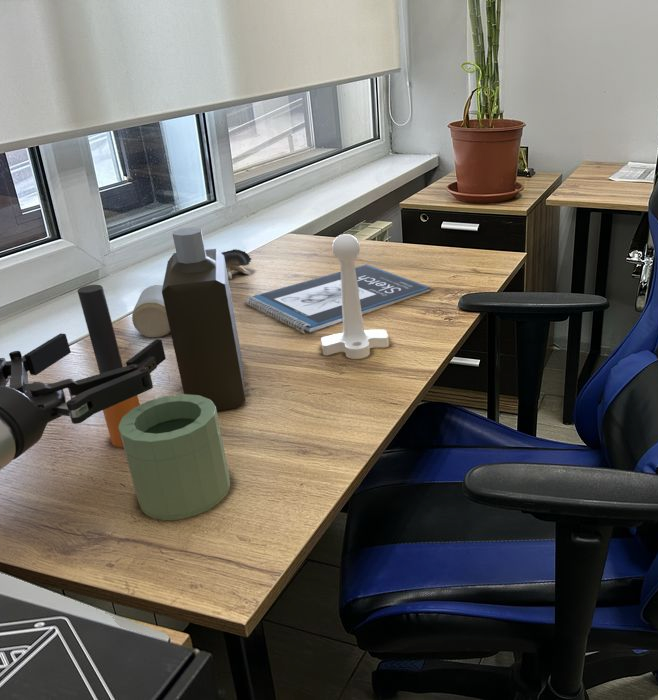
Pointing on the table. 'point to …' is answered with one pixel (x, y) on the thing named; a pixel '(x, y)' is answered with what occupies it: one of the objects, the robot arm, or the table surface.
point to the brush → (105, 351)
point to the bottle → (203, 321)
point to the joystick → (351, 308)
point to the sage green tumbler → (175, 456)
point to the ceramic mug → (151, 313)
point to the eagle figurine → (236, 261)
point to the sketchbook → (334, 298)
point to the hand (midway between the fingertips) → (113, 345)
